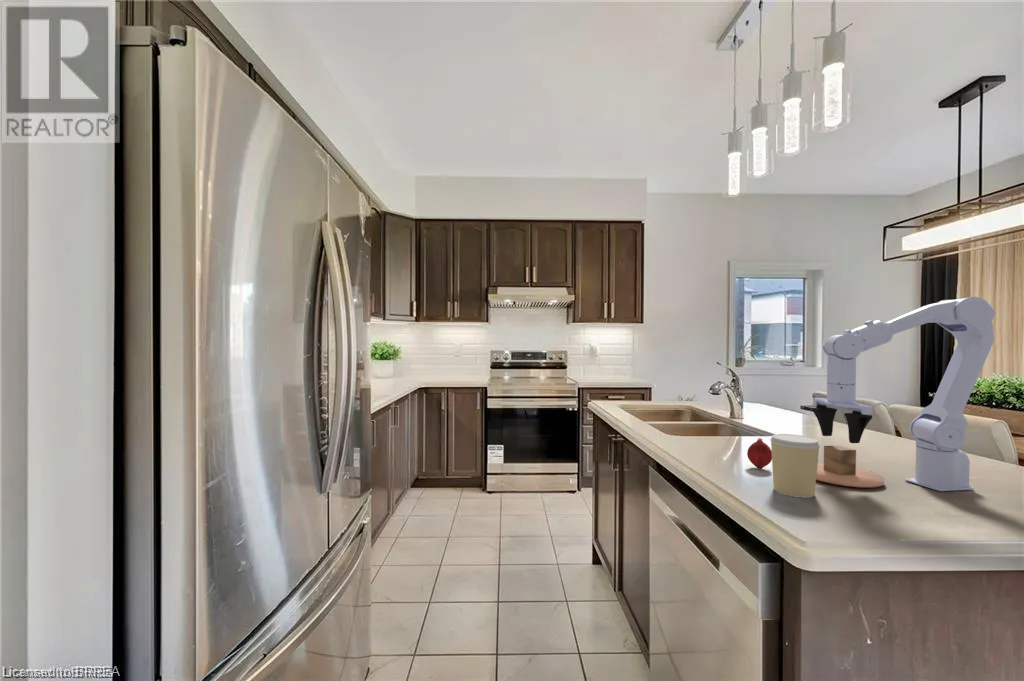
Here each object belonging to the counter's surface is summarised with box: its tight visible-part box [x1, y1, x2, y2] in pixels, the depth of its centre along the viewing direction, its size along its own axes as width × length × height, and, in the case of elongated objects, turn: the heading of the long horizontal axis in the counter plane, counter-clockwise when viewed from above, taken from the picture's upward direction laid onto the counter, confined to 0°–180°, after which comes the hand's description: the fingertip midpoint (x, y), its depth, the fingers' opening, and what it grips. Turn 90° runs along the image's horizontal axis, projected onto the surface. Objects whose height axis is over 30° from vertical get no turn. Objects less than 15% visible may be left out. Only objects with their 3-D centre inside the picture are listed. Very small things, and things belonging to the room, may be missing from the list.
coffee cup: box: [770, 433, 821, 499], centre depth 101 cm, size 9×9×12 cm
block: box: [823, 445, 857, 475], centre depth 111 cm, size 4×4×6 cm
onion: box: [746, 437, 772, 470], centre depth 118 cm, size 6×6×8 cm
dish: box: [816, 462, 885, 488], centre depth 111 cm, size 17×17×2 cm
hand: (840, 439), depth 111 cm, fingers open, 7 cm apart
